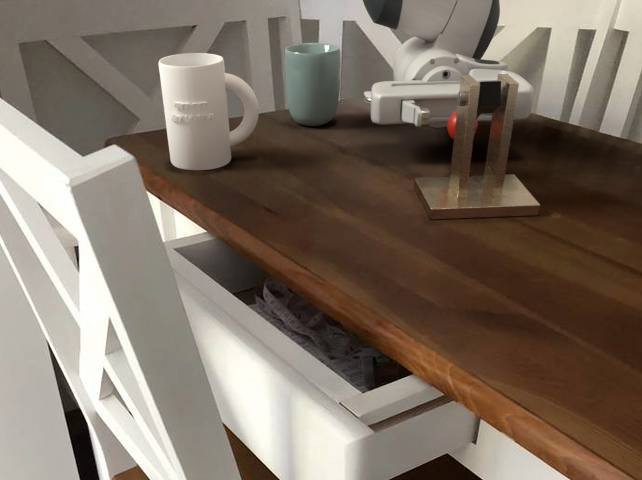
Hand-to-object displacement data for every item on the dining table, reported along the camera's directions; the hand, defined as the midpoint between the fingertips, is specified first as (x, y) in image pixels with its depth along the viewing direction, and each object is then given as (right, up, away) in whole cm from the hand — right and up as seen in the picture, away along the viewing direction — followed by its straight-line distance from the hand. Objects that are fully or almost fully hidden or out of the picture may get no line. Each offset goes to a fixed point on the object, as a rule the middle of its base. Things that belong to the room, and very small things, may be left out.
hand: (463, 118), depth 87 cm
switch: (0, -3, -4) cm, 5 cm away
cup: (-18, +10, +23) cm, 31 cm away
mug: (-30, -1, +10) cm, 32 cm away
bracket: (+1, -11, -3) cm, 11 cm away
